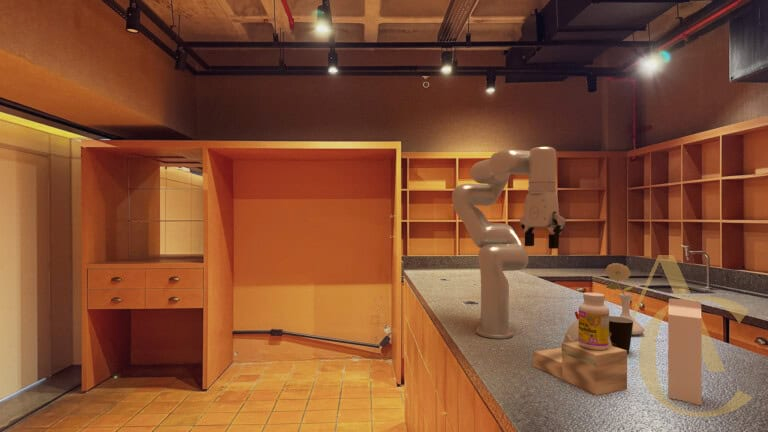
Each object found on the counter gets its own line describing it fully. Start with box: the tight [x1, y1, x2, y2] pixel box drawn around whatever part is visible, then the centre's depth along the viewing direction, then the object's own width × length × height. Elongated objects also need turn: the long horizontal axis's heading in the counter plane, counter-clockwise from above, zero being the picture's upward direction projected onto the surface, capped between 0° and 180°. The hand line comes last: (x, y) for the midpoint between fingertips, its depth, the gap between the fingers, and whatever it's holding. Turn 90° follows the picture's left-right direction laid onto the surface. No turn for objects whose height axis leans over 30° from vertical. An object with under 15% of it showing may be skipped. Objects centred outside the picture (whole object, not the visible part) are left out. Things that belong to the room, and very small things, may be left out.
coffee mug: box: [609, 315, 633, 356], centre depth 126 cm, size 12×9×10 cm
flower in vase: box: [604, 262, 645, 336], centre depth 147 cm, size 13×11×25 cm
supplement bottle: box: [578, 292, 610, 350], centre depth 100 cm, size 7×7×13 cm
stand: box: [532, 341, 628, 396], centre depth 104 cm, size 20×10×9 cm, turn 22°
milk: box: [667, 298, 703, 406], centre depth 92 cm, size 6×6×22 cm
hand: (541, 247), depth 120 cm, fingers open, 9 cm apart
